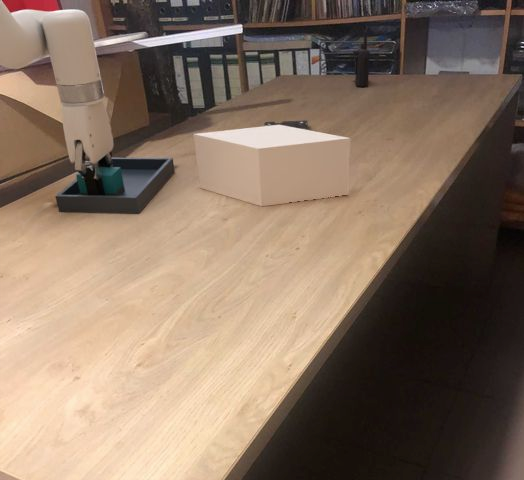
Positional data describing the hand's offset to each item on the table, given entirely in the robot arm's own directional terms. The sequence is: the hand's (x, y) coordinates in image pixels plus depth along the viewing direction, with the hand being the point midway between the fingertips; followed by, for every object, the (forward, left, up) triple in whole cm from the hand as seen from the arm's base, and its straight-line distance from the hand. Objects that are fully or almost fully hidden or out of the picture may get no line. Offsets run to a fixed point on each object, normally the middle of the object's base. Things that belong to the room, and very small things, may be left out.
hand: (102, 193), depth 113 cm
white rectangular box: (+32, +5, -1) cm, 32 cm away
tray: (+2, +4, -1) cm, 4 cm away
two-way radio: (+44, +91, -1) cm, 101 cm away
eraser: (0, 0, 0) cm, 0 cm away
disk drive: (+30, +36, -1) cm, 47 cm away
